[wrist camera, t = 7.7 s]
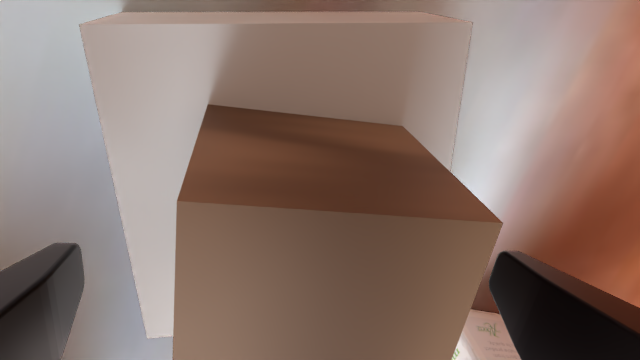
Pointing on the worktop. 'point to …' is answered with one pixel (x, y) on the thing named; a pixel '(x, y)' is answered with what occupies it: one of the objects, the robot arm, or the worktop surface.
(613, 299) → the robot arm
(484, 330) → the syrup box
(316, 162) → the walnut cube
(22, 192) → the worktop surface
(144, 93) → the base block
